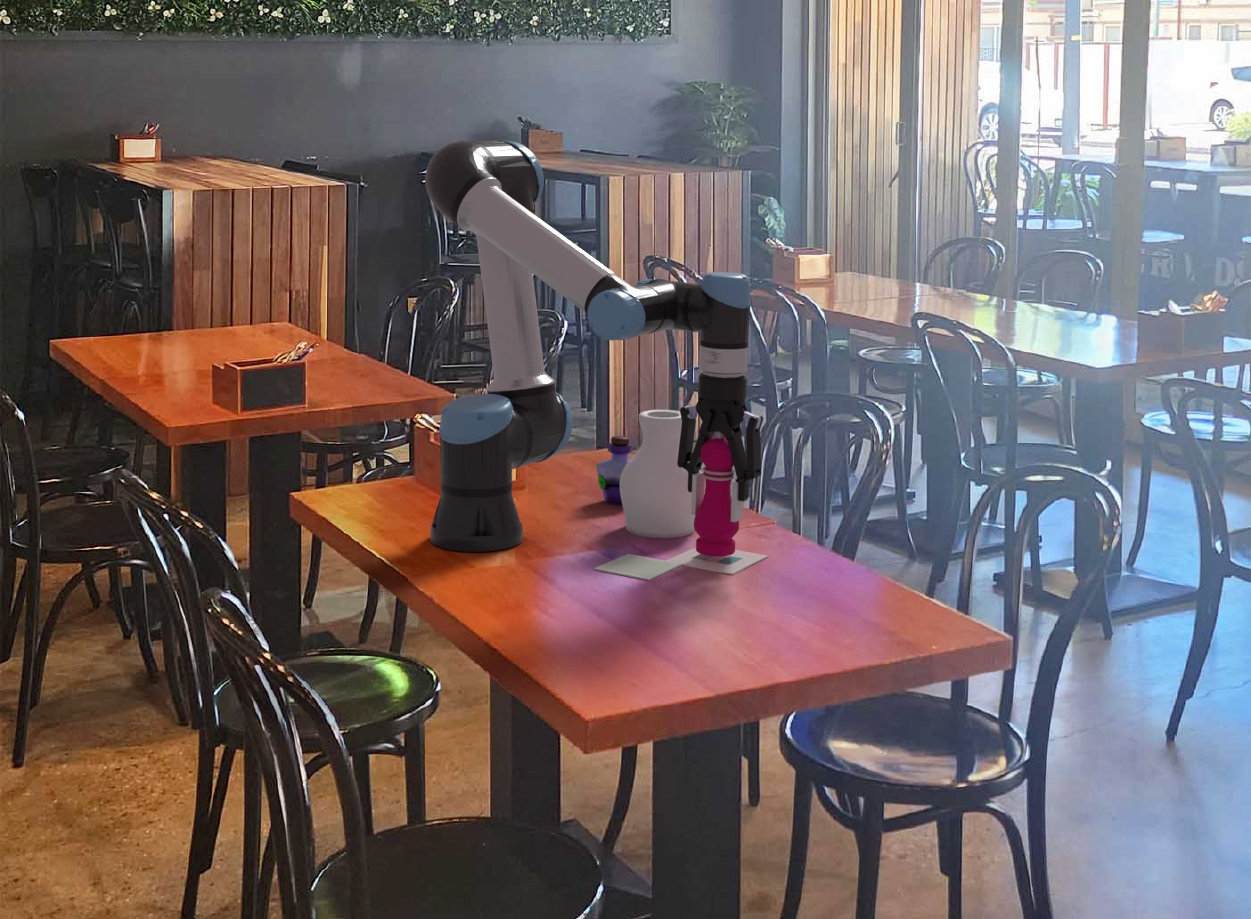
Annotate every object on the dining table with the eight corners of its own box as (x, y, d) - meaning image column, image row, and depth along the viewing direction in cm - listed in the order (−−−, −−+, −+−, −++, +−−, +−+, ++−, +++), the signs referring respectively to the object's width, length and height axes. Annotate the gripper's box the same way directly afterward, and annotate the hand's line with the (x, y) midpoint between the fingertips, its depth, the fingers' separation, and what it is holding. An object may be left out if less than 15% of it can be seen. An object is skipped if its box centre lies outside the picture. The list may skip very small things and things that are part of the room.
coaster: (594, 569, 250) (594, 568, 250) (628, 555, 258) (628, 553, 258) (649, 580, 245) (649, 579, 245) (682, 565, 253) (682, 563, 253)
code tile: (665, 562, 255) (665, 560, 255) (702, 545, 265) (702, 543, 265) (732, 574, 249) (732, 573, 249) (768, 557, 259) (768, 555, 259)
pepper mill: (734, 559, 253) (740, 434, 248) (689, 555, 254) (694, 431, 249) (740, 547, 259) (746, 425, 255) (696, 543, 261) (701, 422, 256)
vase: (683, 515, 284) (686, 403, 279) (715, 536, 271) (719, 419, 266) (607, 521, 279) (608, 407, 274) (636, 543, 266) (638, 424, 261)
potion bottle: (585, 501, 292) (586, 436, 289) (616, 493, 298) (617, 430, 296) (621, 510, 286) (622, 444, 284) (652, 501, 293) (654, 436, 290)
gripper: (656, 369, 252) (652, 511, 257) (767, 383, 242) (760, 531, 247) (680, 362, 258) (675, 502, 263) (789, 376, 248) (782, 521, 254)
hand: (716, 516), depth 255 cm, fingers closed on pepper mill, 6 cm apart
